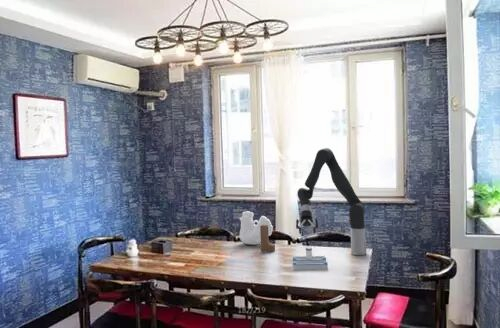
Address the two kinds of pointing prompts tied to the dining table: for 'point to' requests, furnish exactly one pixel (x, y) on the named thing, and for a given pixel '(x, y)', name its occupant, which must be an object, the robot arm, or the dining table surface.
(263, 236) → the wooden block
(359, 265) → the dining table surface
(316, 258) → the duct
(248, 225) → the decorative rooster
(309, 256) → the cord plug
